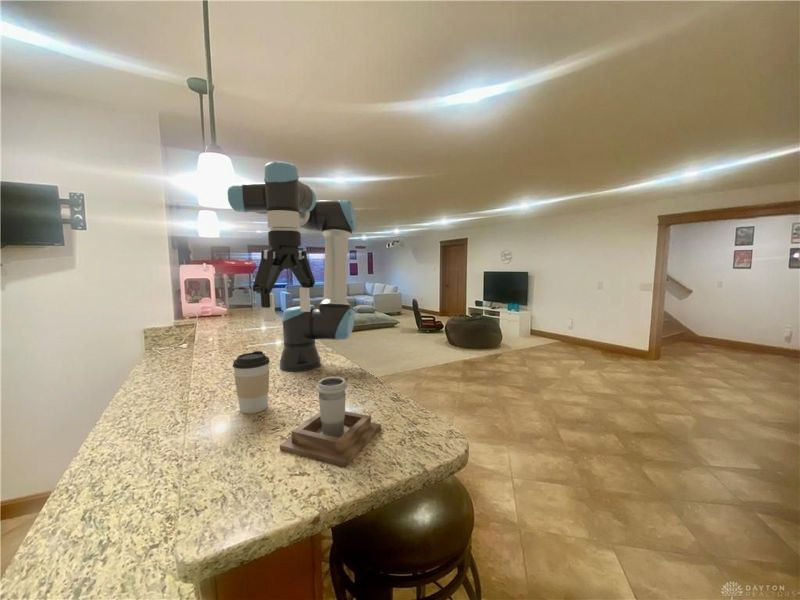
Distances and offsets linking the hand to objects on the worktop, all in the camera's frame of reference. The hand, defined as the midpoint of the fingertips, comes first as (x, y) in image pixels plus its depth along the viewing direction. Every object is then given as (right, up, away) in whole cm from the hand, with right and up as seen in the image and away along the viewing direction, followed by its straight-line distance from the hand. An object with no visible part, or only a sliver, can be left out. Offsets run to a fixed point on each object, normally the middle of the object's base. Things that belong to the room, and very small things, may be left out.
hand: (288, 316), depth 81 cm
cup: (+13, -26, -9) cm, 31 cm away
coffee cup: (-12, -26, +6) cm, 29 cm away
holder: (+13, -27, -9) cm, 31 cm away
